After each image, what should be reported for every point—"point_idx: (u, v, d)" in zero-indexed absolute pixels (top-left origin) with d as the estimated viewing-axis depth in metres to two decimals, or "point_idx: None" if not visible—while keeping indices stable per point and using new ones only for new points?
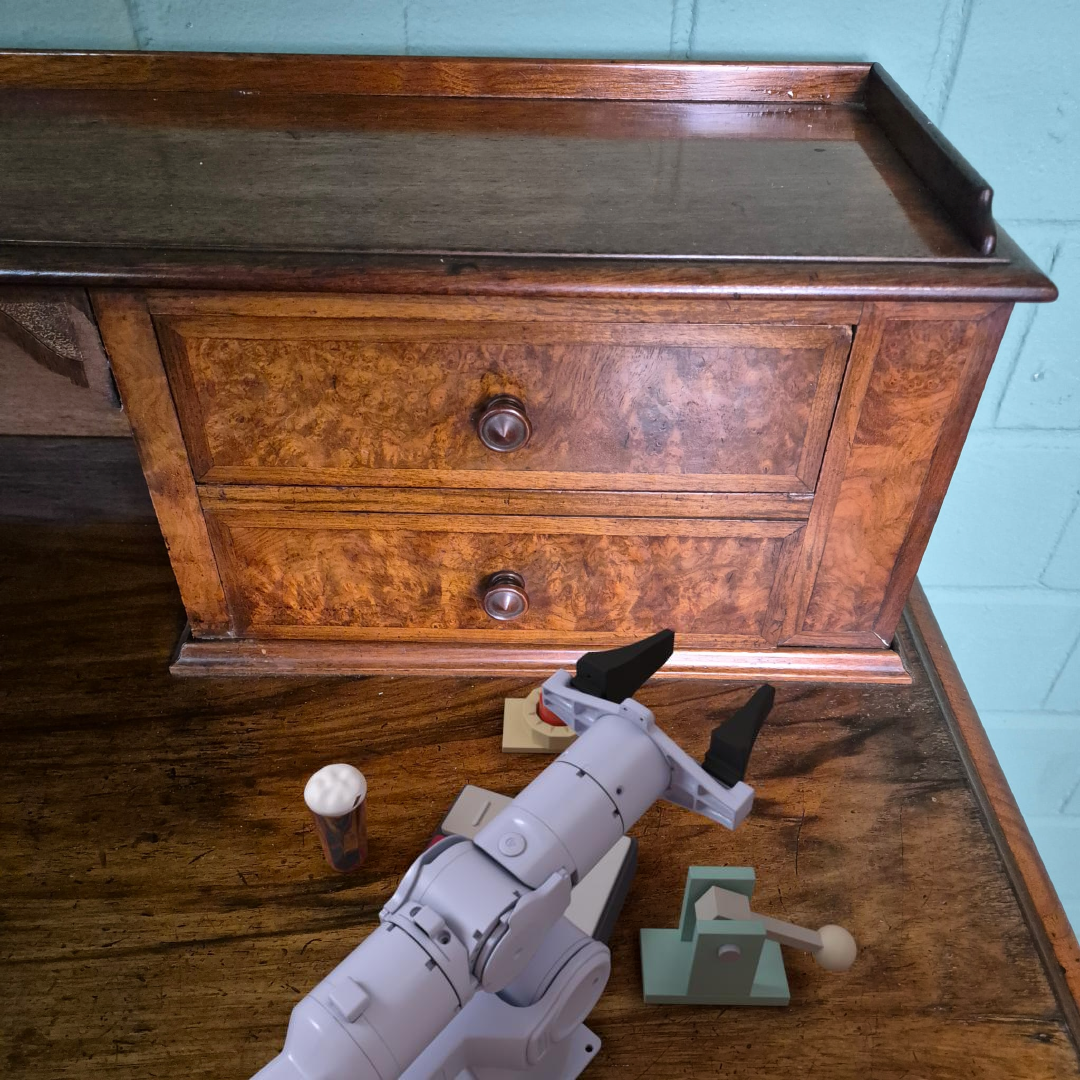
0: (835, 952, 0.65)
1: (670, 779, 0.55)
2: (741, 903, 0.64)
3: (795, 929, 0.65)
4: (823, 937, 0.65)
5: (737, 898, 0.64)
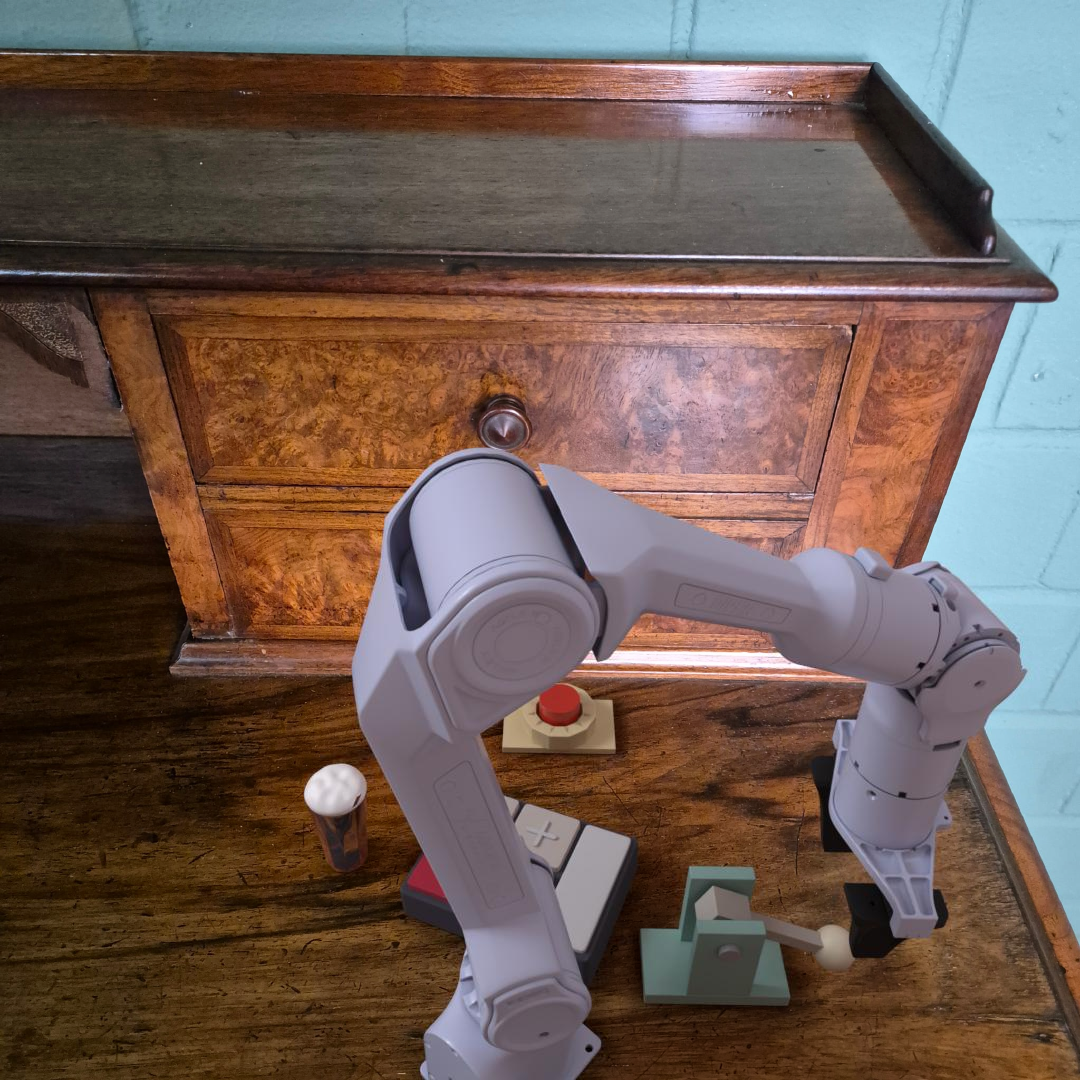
0: (835, 952, 0.65)
1: (897, 848, 0.55)
2: (741, 903, 0.64)
3: (795, 929, 0.65)
4: (823, 937, 0.65)
5: (737, 898, 0.64)
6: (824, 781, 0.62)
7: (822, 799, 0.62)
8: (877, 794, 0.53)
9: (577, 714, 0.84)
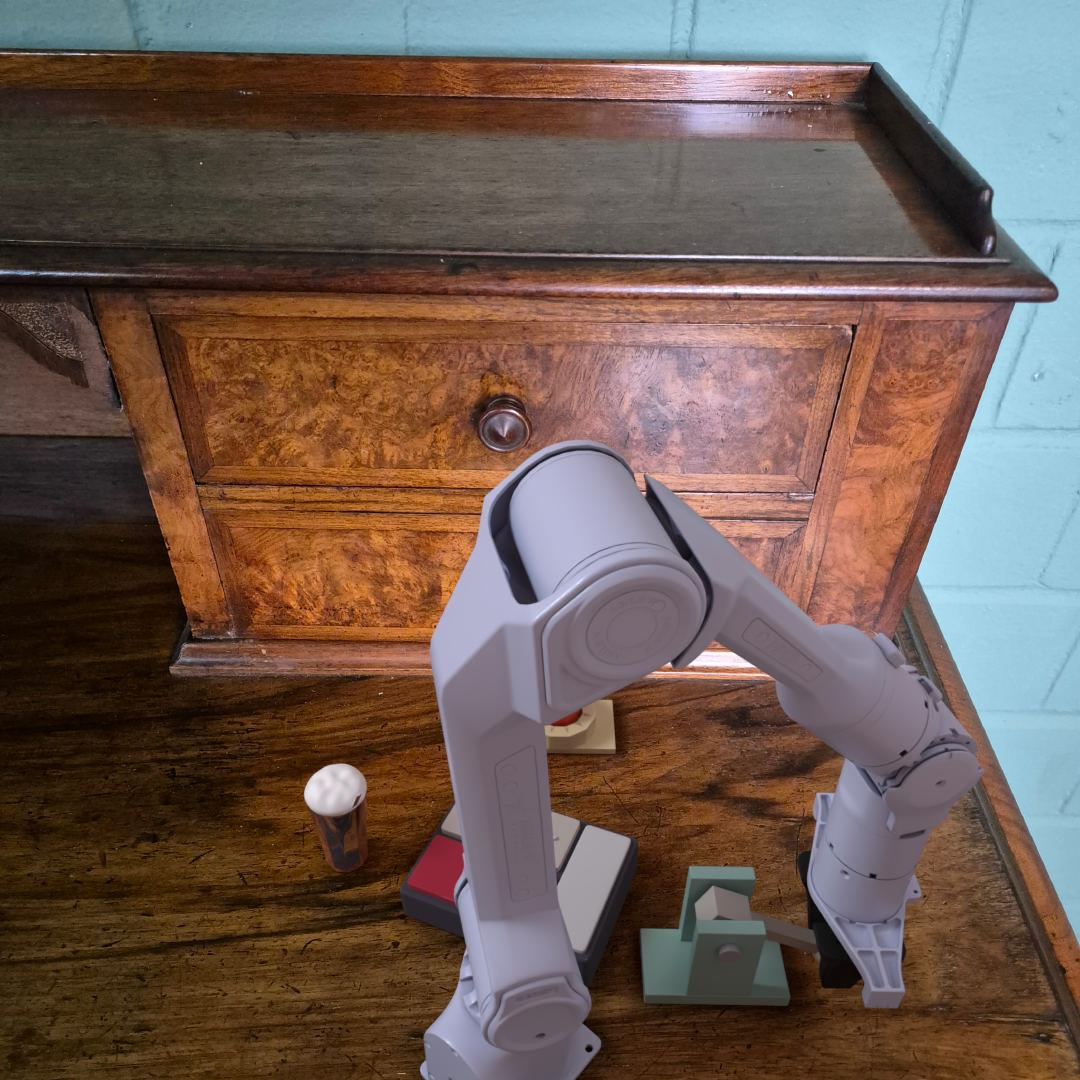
0: None
1: (869, 922, 0.59)
2: (741, 903, 0.64)
3: (795, 929, 0.65)
4: None
5: (737, 898, 0.64)
6: None
7: (809, 894, 0.65)
8: (850, 874, 0.57)
9: (577, 714, 0.84)
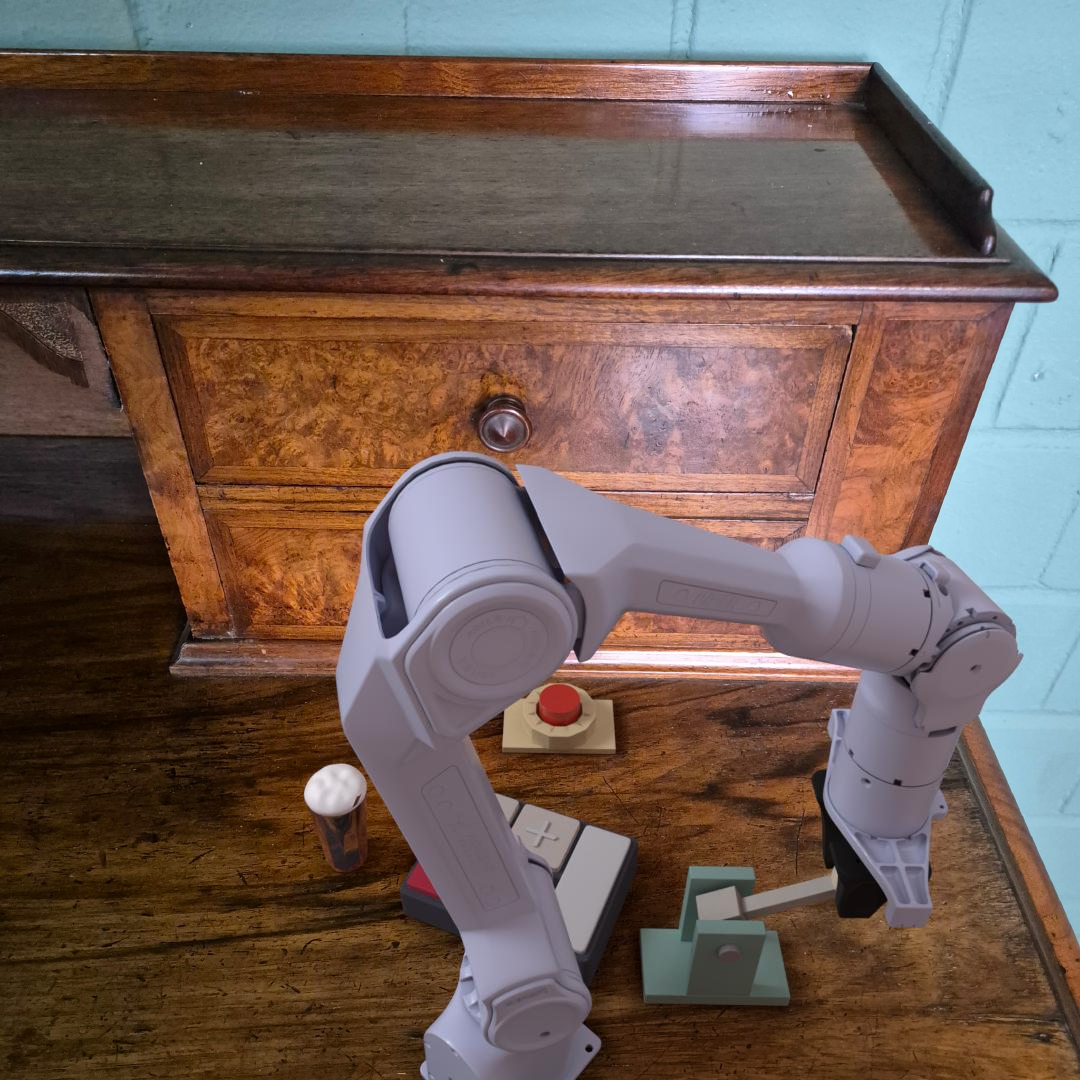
0: None
1: (892, 837, 0.54)
2: (726, 897, 0.63)
3: (799, 887, 0.62)
4: (832, 879, 0.61)
5: (722, 894, 0.63)
6: None
7: (824, 815, 0.60)
8: (872, 782, 0.52)
9: (577, 714, 0.84)
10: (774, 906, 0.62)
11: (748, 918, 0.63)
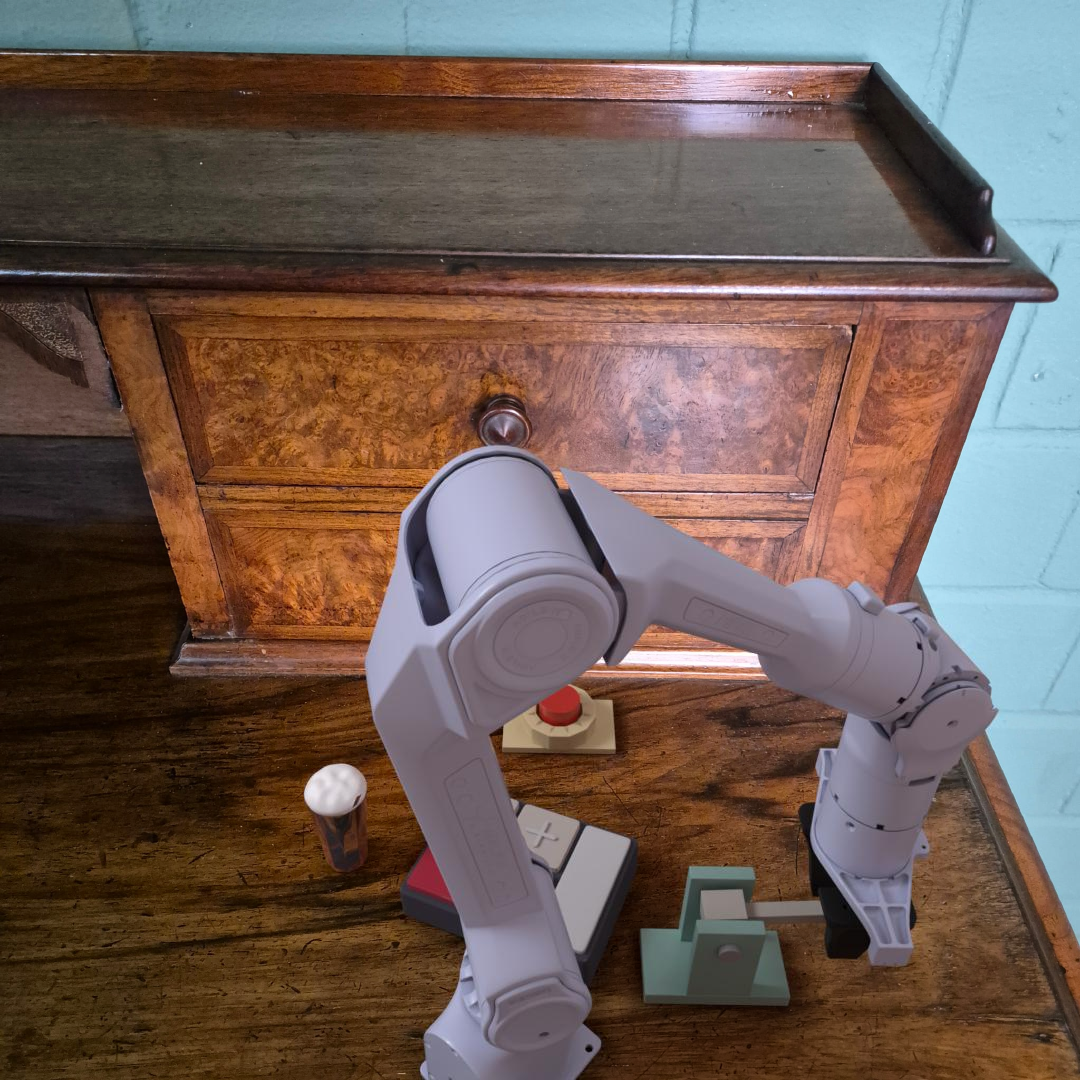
0: None
1: (876, 878, 0.56)
2: (734, 899, 0.63)
3: (806, 905, 0.63)
4: None
5: (729, 895, 0.64)
6: None
7: (811, 846, 0.63)
8: (855, 826, 0.55)
9: (577, 714, 0.84)
10: (778, 917, 0.63)
11: None
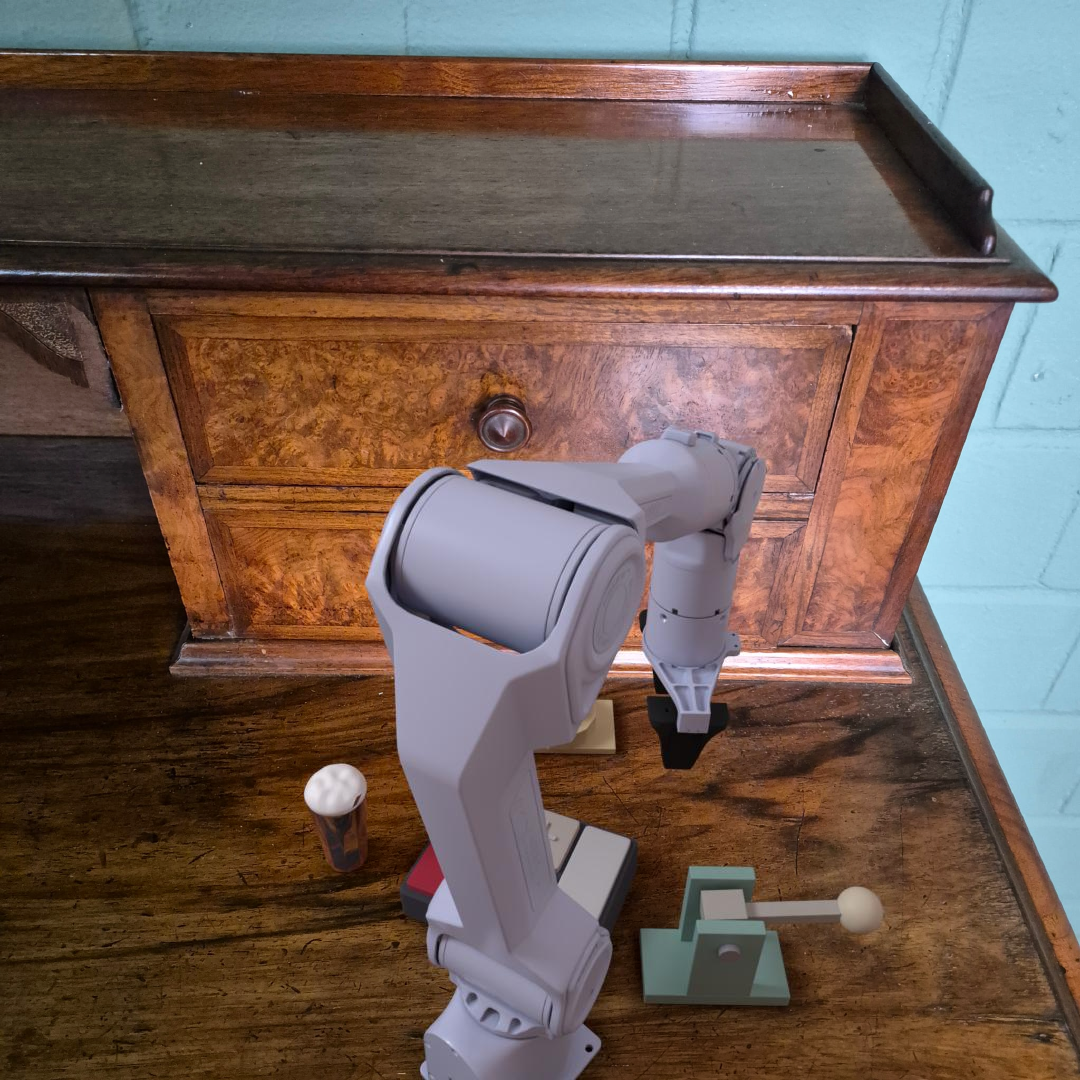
0: (853, 916, 0.62)
1: (689, 666, 0.66)
2: (734, 899, 0.63)
3: (806, 905, 0.63)
4: (839, 904, 0.63)
5: (729, 895, 0.64)
6: None
7: None
8: (667, 616, 0.64)
9: None
10: (778, 917, 0.63)
11: None
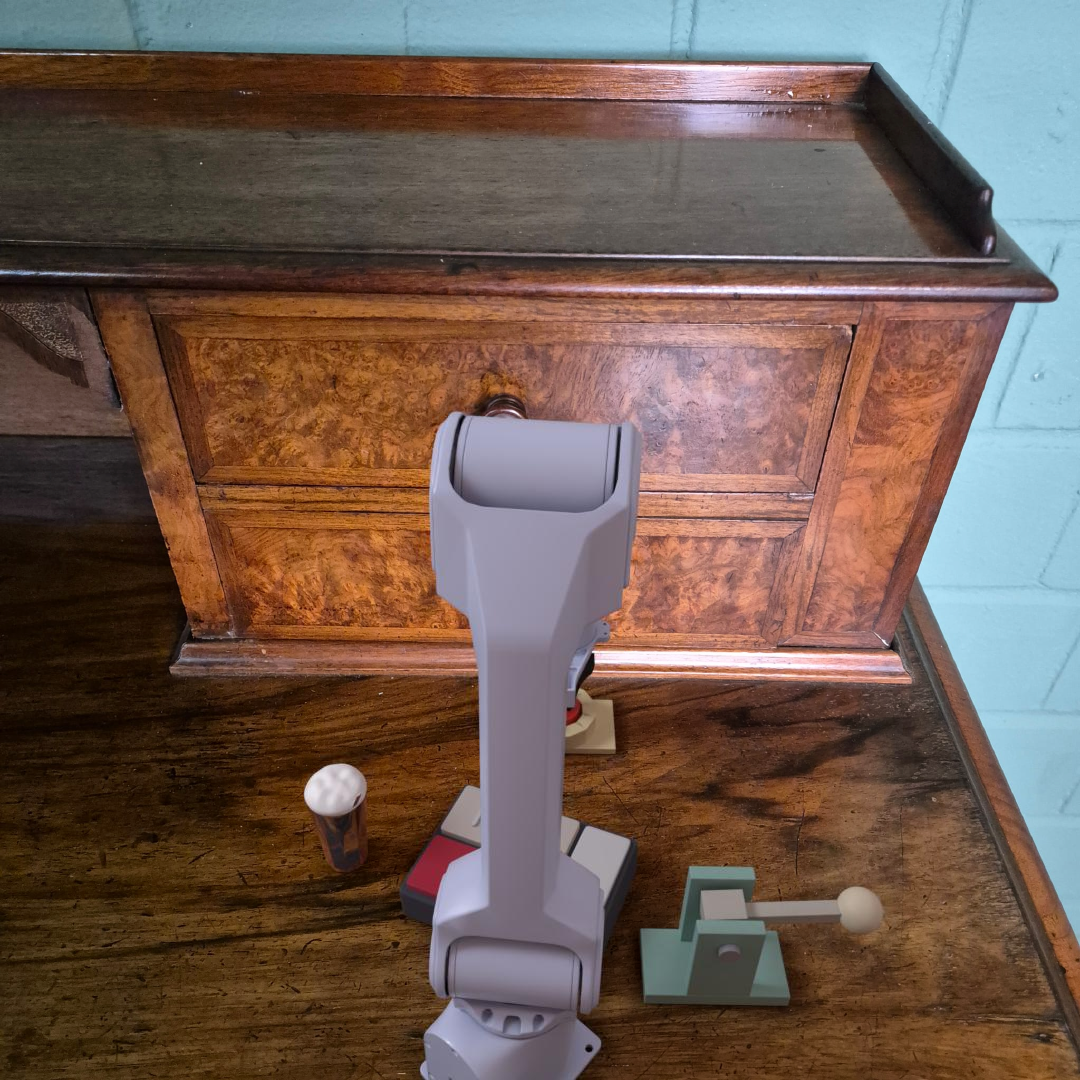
0: (853, 916, 0.62)
1: None
2: (734, 899, 0.63)
3: (806, 905, 0.63)
4: (839, 904, 0.63)
5: (729, 895, 0.64)
6: None
7: None
8: None
9: None
10: (778, 917, 0.63)
11: None
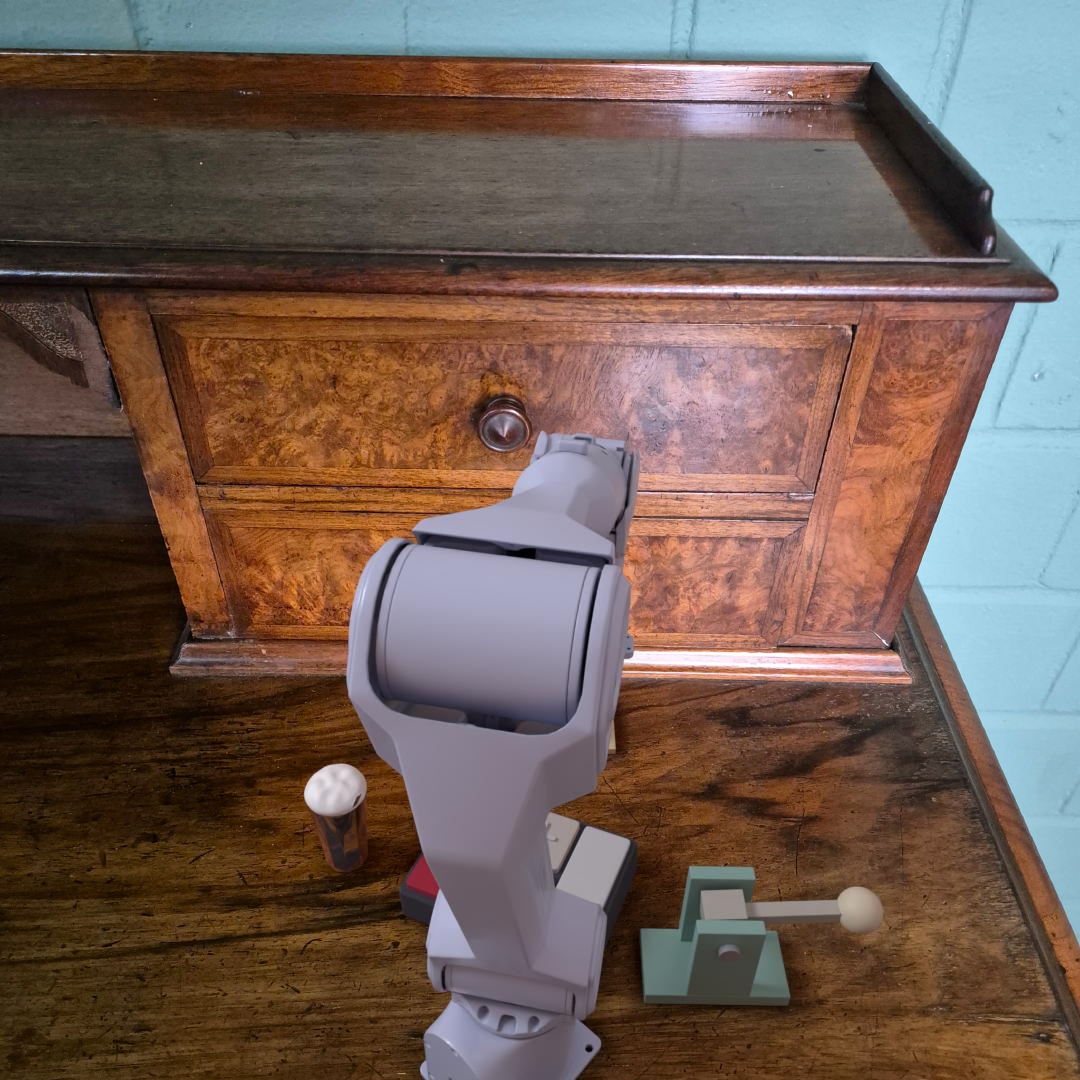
0: (853, 916, 0.62)
1: None
2: (734, 899, 0.63)
3: (806, 905, 0.63)
4: (839, 904, 0.63)
5: (729, 895, 0.64)
6: None
7: None
8: None
9: None
10: (778, 917, 0.63)
11: None
